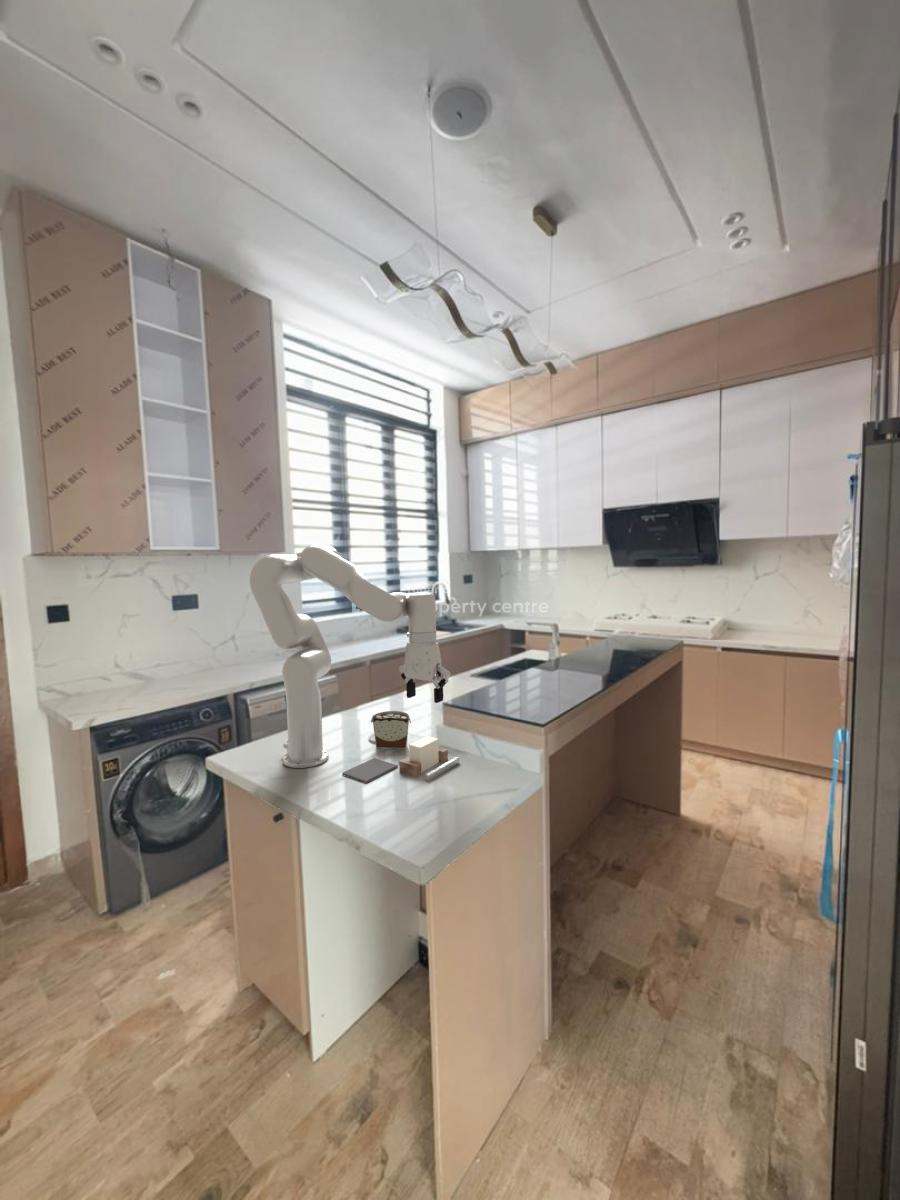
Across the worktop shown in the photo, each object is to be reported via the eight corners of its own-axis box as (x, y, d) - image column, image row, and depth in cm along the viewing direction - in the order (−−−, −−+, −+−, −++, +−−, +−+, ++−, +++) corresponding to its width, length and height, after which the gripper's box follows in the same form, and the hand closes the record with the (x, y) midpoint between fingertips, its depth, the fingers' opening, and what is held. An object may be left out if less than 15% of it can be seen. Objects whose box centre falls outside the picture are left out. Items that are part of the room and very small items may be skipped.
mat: (342, 774, 131) (342, 772, 131) (374, 759, 141) (374, 757, 141) (366, 783, 126) (366, 781, 126) (397, 767, 136) (397, 765, 136)
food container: (414, 741, 155) (413, 710, 154) (411, 749, 149) (410, 716, 148) (376, 740, 156) (375, 710, 156) (371, 748, 150) (370, 716, 149)
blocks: (399, 771, 133) (399, 761, 132) (431, 755, 144) (431, 745, 144) (428, 781, 127) (428, 769, 127) (459, 762, 138) (459, 752, 138)
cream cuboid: (409, 769, 134) (409, 744, 134) (427, 759, 141) (427, 736, 140) (420, 772, 132) (420, 747, 132) (438, 762, 139) (438, 738, 138)
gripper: (389, 637, 136) (392, 698, 137) (439, 642, 126) (441, 707, 127) (407, 634, 142) (409, 692, 143) (456, 638, 132) (458, 700, 133)
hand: (424, 699), depth 135 cm, fingers open, 9 cm apart
